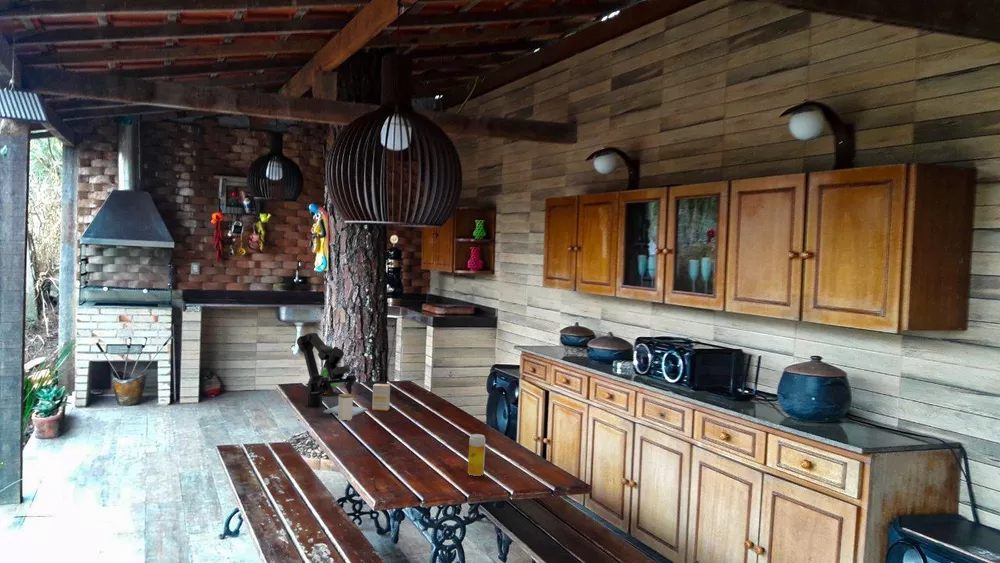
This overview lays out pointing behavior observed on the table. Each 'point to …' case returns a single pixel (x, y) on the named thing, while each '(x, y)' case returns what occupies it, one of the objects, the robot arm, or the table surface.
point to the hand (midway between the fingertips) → (342, 395)
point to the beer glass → (476, 455)
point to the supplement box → (381, 397)
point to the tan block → (345, 406)
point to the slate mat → (354, 410)
